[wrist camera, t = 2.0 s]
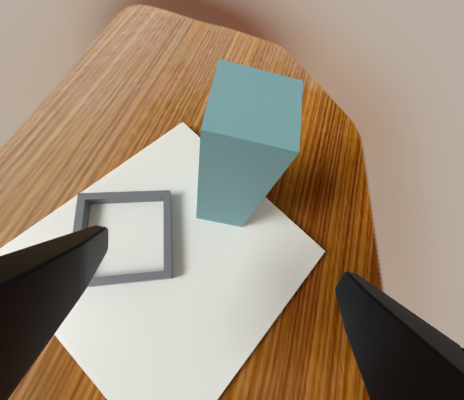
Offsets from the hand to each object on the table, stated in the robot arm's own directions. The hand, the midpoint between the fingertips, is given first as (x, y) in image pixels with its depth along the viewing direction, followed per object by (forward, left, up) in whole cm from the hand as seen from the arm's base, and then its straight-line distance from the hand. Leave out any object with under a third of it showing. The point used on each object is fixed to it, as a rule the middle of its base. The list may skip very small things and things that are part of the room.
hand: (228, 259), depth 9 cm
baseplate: (+4, 0, -13) cm, 14 cm away
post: (+4, -6, -12) cm, 14 cm away
